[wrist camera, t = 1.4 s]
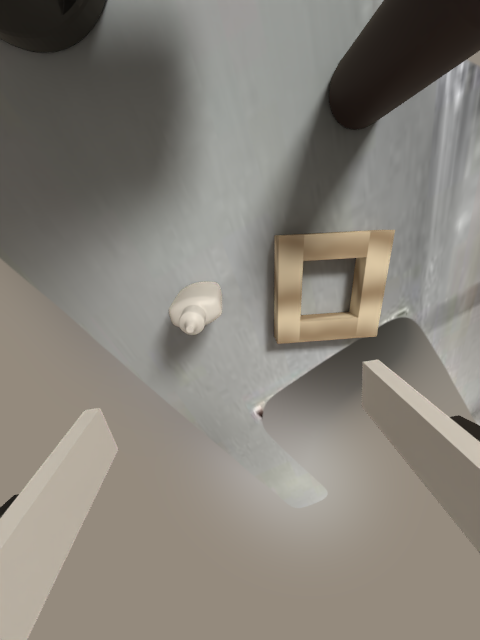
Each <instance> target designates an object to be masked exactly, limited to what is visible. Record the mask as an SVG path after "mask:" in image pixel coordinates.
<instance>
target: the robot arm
mask: <svg viewBox="0 0 480 640" xmlns="http://www.w3.org/2000/svg"><path fill="white" fill-rule="evenodd" d="M104 4H105V0H0V39H2V40H4V41H6V42H8V43H10V44H12V45H14V46H17V47H19V48H22V49H26V50H30V51H35V52H54V51H59V50H63V49H66V48H68V47H70V46H72V45H74V44H76V43H77V42H79V41H80V40H81V39H82V38H84V37H85V36H86V35H87V34H88V33H89V31H90V30H91V29H92V28H93V26H94V25H95V23H96V21H97V20H98V18H99V16H100V14H101V11H102V9H103V6H104ZM362 374H363V376H362V408H363V409H364V410H365V411H366V412H367V414H368V415H369V416H370V418H371V419H372V420H373V421H374V423H375V424H376V425H377V426H378V428H379V429H380V430H381V431H382V432H383V434H384V435H385V436H386V437H387V439H388V440H389V441H390V442H391V444H392V445H393V446H394V447H395V449H396V450H397V451H398V452H399V454H400V455H401V456H402V457H403V459H404V460H405V461H406V462H407V464H408V465H409V466H410V467H411V469H412V470H413V471H414V472H415V474H416V475H417V476H418V477H419V479H420V480H421V481H422V482H423V483H424V485H425V486H426V487H427V489H428V490H429V491H430V492H431V493H432V495H433V496H434V497H435V498H436V500H437V501H438V502H439V503H440V504H441V506H442V507H443V508H444V510H445V511H446V512H447V513H448V514H449V516H450V517H451V518H452V520H453V521H454V522H455V523H456V524H457V526H458V527H459V528H460V529H461V531H462V532H463V533H464V534H465V536H466V537H467V538H468V539H469V541H470V542H471V543H472V544H473V545H474V547H475V548H476V549H477V551H478V552H479V553H480V426H479V425H477V424H475V423H473V422H471V421H469V420H467V419H465V418H463V417H461V416H454V417H448V416H447V415H446V414H445V413H443V412H442V411H441V410H440V409H438V408H437V407H436V406H435V405H433V404H432V403H431V402H430V401H429V400H427V399H426V398H425V397H424V396H422V395H421V394H420V393H419V392H417V391H416V390H415V389H414V388H412V387H411V386H410V385H409V384H408V383H406V382H405V381H404V380H403V379H401V378H400V377H399V376H398V375H396V374H395V373H394V372H393V371H391V370H390V369H389V368H388V367H386V366H385V365H384V364H383V363H382V362H380V361H379V360H372V361H367V362H363V372H362ZM117 452H118V447H117V445H116V443H115V440H114V438H113V436H112V433H111V431H110V429H109V427H108V424H107V422H106V420H105V418H104V415H103V413H102V411H101V409H100V408H95V409H89V410H85V411H84V412H83V413H82V414H81V416H80V417H79V418H78V419H77V421H76V422H75V423H74V425H73V426H72V427H71V428H70V430H69V431H68V432H67V434H66V435H65V436H64V438H63V439H62V440H61V441H60V443H59V444H58V445H57V446H56V448H55V449H54V450H53V451H52V453H51V454H50V455H49V457H48V458H47V459H46V461H45V462H44V463H43V465H42V466H41V467H40V468H39V469H38V471H37V472H36V473H35V475H34V476H33V477H32V479H31V480H30V481H29V482H28V484H27V485H26V486H25V487H24V489H23V490H22V491H21V493H20V494H18V495H14V496H13V497H12V498H11V499H9V500H8V501H7V502H6V503H5V504H4V505H3V506H2V507H0V640H27V639H28V637H29V635H30V632H31V630H32V628H33V626H34V624H35V622H36V620H37V618H38V616H39V614H40V611H41V609H42V607H43V605H44V603H45V601H46V599H47V597H48V595H49V593H50V591H51V589H52V587H53V585H54V583H55V580H56V578H57V576H58V574H59V572H60V570H61V568H62V566H63V564H64V562H65V560H66V558H67V555H68V553H69V551H70V549H71V547H72V545H73V543H74V541H75V539H76V537H77V534H78V533H79V531H80V529H81V526H82V524H83V522H84V520H85V518H86V516H87V514H88V512H89V510H90V508H91V506H92V503H93V501H94V499H95V497H96V495H97V493H98V491H99V489H100V487H101V485H102V483H103V481H104V479H105V477H106V474H107V472H108V470H109V468H110V466H111V464H112V462H113V460H114V458H115V456H116V454H117Z"/></svg>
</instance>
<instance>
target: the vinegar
mask: <svg viewBox="0 0 480 640" xmlns="http://www.w3.org/2000/svg"><path fill="white" fill-rule="evenodd" d="M479 50H480V0H384V1H383V2H382V4H381V5H380V7H379V8H378V9H377V11H376V12H375V14H374V15H373V16H372V18H371V19H370V21H369V22H368V23H367V25H366V26H365V28H364V29H363V30H362V32H361V33H360V35H359V36H358V37H357V39H356V40H355V42H354V43H353V44H352V46H351V47H350V49H349V50H348V51H347V53H346V54H345V56H344V57H343V58H342V60H341V61H340V63H339V64H338V66H337V68H336V70H335V72H334V74H333V76H332V80H331V84H330V89H329V103H330V107H331V110H332V114H333V115H334V117H335V118H336V120H337V121H338V122H339V123H340V124H341V125H343V126H344V127H345V128H349V129H354V130H356V129H362V128H366V127H367V126H369V125H371V124H373V123H374V122H376V121H377V120H379V119H380V118H382V117H383V116H385V115H386V114H388V113H389V112H390V111H392V110H393V109H395V108H396V107H398V106H399V105H401V104H402V103H404V102H405V101H407V100H408V99H409V98H411V97H412V96H414V95H415V94H417V93H418V92H420V91H421V90H423V89H424V88H425V87H427V86H428V85H430V84H431V83H433V82H434V81H436V80H437V79H439V78H440V77H442V76H443V75H444V74H446V73H447V72H449V71H450V70H452V69H453V68H455V67H456V66H458V65H459V64H460V63H462V62H463V61H465V60H466V59H468V58H469V57H471V56H472V55H474V54H475V53H476V52H478V51H479Z"/></svg>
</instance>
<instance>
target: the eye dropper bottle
mask: <svg viewBox="0 0 480 640" xmlns="http://www.w3.org/2000/svg"><path fill="white" fill-rule="evenodd" d="M221 314H222V293H221V289H220V286H219V284H218V283H215V282H197V283H194V284H191V285H189V286H187V287H185V288H184V289H182V290H181V291H180V292H179V293H178V295H177V296H176V298H175V300H174V301H173V303H172V304H171V306H170V308H169V315H170V318H171V321H172V323H173V324H174V325H175V326H178V327H180V328H181V330H182V331H183V332H184V333H186V334H189V335H196V334H198V333H200V332H201V331H202V330H203V329H204V326H205V325H207V324H209V323H211V322H213V321H214V320H216V319H217V318H218V317H219V316H220V315H221Z"/></svg>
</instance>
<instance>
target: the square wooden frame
mask: <svg viewBox="0 0 480 640" xmlns="http://www.w3.org/2000/svg"><path fill="white" fill-rule="evenodd" d="M394 232H395V230H369V231H350V232H331V233H312V234H293V235H275V253H274V337H275V339H276V341H277V343H278V344H282V343H295V342H308V341H322V340H335V339H348V338H362V337H374V336H376V335H377V330H378V324H379V318H380V313H381V307H382V301H383V296H384V290H385V284H386V278H387V273H388V267H389V261H390V255H391V250H392V244H393V238H394ZM345 258H356V262H355V270H354V278H353V286H352V294H351V302H350V310H349V312H340V313H326V314H311V315H301V295H302V274H303V261H311V260H328V259H345Z"/></svg>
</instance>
